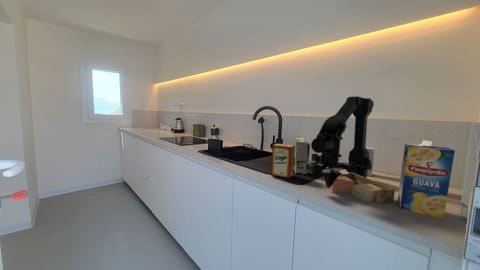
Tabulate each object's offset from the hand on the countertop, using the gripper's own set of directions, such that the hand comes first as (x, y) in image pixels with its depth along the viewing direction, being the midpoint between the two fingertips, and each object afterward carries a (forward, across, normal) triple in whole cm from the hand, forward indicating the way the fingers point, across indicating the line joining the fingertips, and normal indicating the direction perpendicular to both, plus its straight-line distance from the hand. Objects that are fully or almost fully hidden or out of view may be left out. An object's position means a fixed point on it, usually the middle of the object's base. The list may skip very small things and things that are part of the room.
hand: (328, 187), depth 80 cm
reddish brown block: (+2, -7, -2) cm, 7 cm away
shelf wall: (+1, -15, +2) cm, 15 cm away
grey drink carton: (+2, -1, -26) cm, 26 cm away
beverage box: (+2, -23, +18) cm, 29 cm away
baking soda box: (+2, +12, -21) cm, 24 cm away
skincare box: (+2, -36, -20) cm, 41 cm away
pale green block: (+1, -12, +7) cm, 14 cm away
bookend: (+1, -13, -8) cm, 15 cm away
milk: (+2, -44, +3) cm, 44 cm away
